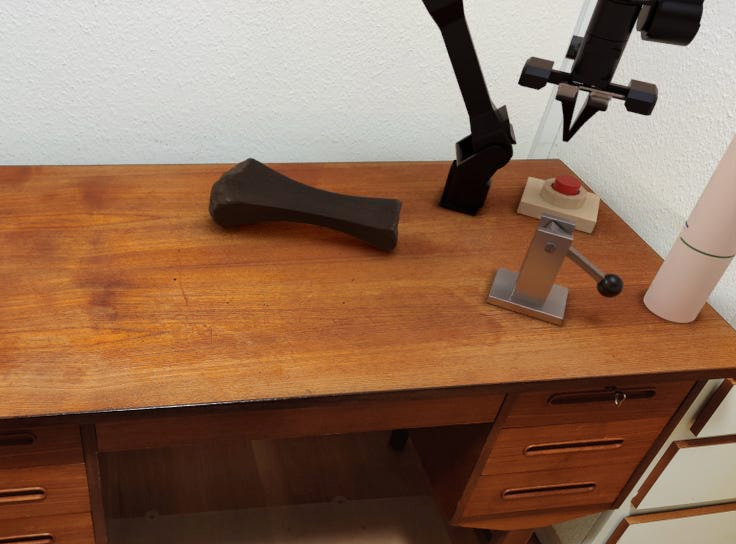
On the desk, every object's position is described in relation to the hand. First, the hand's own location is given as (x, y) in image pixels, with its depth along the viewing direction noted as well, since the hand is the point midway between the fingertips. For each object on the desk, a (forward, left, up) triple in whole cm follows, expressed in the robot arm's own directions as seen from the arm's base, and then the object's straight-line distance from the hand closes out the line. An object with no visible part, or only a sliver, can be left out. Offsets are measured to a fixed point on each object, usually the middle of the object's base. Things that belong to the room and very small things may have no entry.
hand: (565, 140), depth 111 cm
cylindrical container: (+21, -16, -13) cm, 30 cm away
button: (+3, +4, -9) cm, 11 cm away
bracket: (+2, -25, -13) cm, 28 cm away
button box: (+3, +4, -13) cm, 14 cm away
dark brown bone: (-32, -25, -13) cm, 43 cm away
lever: (+6, -25, -7) cm, 27 cm away
